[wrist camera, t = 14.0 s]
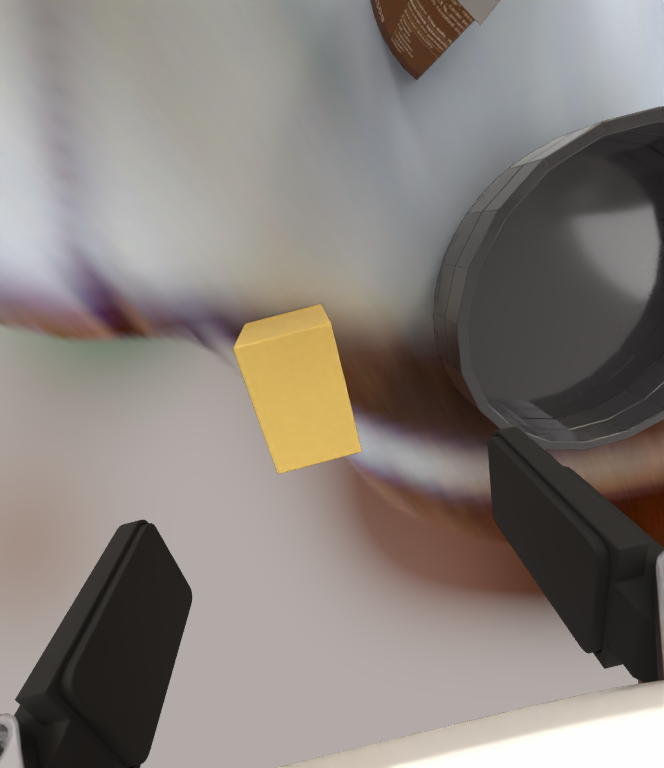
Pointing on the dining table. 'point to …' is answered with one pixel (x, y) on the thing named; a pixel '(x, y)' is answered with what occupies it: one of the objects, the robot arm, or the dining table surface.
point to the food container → (426, 27)
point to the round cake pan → (563, 289)
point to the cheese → (298, 388)
